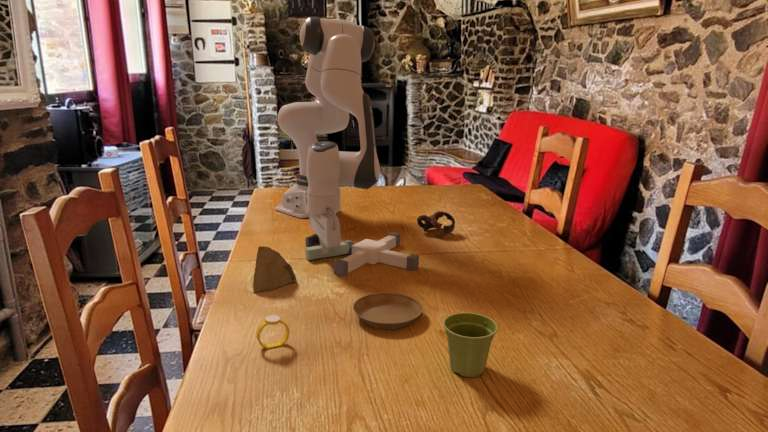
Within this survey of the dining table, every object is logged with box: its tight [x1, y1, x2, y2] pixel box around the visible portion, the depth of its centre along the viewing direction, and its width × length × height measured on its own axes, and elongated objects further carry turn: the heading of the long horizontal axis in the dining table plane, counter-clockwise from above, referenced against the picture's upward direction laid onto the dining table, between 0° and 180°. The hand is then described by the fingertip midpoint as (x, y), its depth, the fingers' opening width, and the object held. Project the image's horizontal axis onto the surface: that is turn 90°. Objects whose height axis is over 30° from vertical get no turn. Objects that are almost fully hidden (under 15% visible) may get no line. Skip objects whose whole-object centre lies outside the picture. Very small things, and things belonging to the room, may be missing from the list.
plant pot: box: [442, 312, 499, 378], centre depth 91 cm, size 9×9×9 cm
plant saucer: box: [352, 292, 423, 330], centre depth 110 cm, size 15×15×3 cm
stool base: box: [333, 231, 420, 277], centre depth 141 cm, size 20×29×4 cm
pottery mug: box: [416, 210, 456, 239], centre depth 164 cm, size 12×10×8 cm
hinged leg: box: [304, 239, 354, 261], centre depth 144 cm, size 14×2×3 cm, turn 118°
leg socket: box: [305, 233, 320, 247], centre depth 153 cm, size 5×5×3 cm
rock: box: [252, 245, 298, 294], centre depth 124 cm, size 11×9×10 cm
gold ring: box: [255, 314, 291, 350], centre depth 98 cm, size 6×3×6 cm, turn 115°
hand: (324, 252), depth 141 cm, fingers closed
